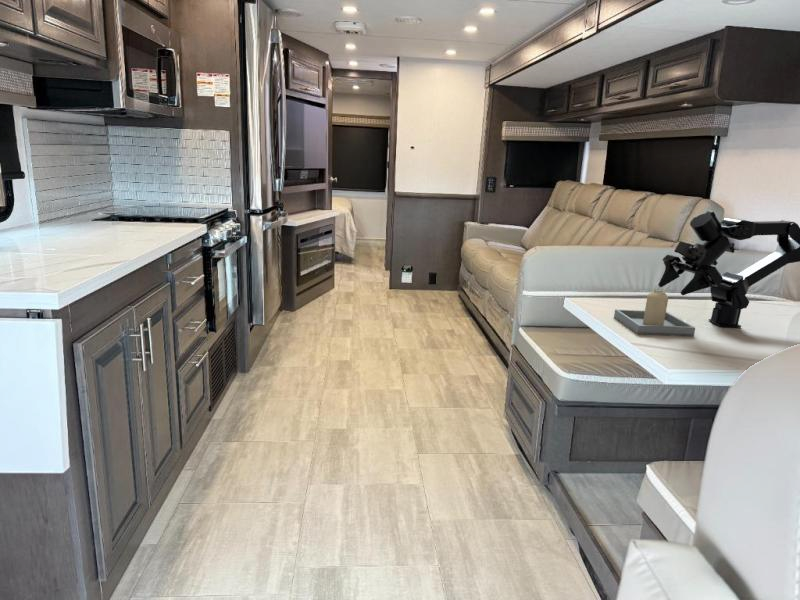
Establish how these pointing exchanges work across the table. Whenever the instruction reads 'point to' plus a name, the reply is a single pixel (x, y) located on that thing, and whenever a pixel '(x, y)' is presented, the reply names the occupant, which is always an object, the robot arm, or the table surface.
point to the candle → (655, 308)
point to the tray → (670, 327)
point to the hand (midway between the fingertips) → (670, 290)
